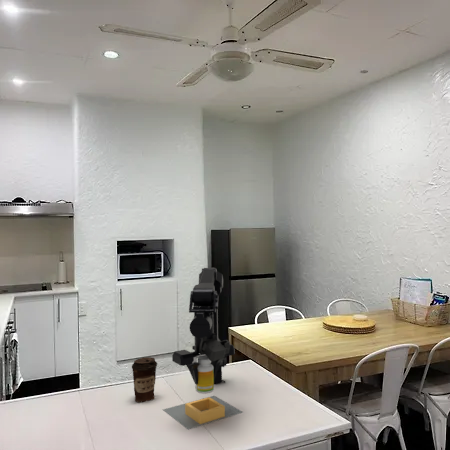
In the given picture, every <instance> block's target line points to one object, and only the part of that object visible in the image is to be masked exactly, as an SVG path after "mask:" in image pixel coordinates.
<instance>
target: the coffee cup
mask: <svg viewBox="0 0 450 450" xmlns="http://www.w3.org/2000/svg"><path fill="white" fill-rule="evenodd" d="M157 366H158V362H157V361H156V358H155V357H146V356H145V357H141V358H137V359H135V360H134V361H133V363H132V365H131V369H132V377H133V378H132V379H133V390H134V391H133V393H134V401H135V402H137V403H145V402H150V401H153V400H155V384H156V379H157V378H156V375H157V374H156V372H157Z"/></svg>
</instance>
